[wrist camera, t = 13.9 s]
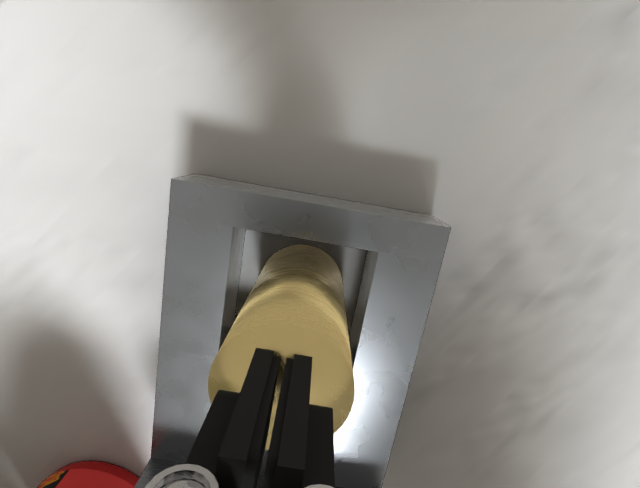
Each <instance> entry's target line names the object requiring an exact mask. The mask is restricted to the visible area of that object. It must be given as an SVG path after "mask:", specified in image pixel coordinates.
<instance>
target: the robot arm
mask: <svg viewBox="0 0 640 488" xmlns="http://www.w3.org/2000/svg"><path fill="white" fill-rule="evenodd" d="M280 358H281V357H279V356H274V350H268V349H262V348H256V349H255V352H254V355H253V358H252V361H251V363H250V366H249V369H248V372H247V375H246V377H245V380H244V383H243V386H242V389H241V392H240V393H238V392H232V391H225V390H218V392H217V394H216V396H215V398H214V400H213V402H212V404H211V407H210V409H209V411H208V413H207V416H206V418H205V420H204V422H203V424H202V427H201V429H200V431H199V433H198V436H197V438H196V440H195V442H194V444H193V447H192V449H191V451H190V453H189V456H188V458H187V460H186V462H185V464H181V465H175V466H173V467H170V468H167V469H165V470H163V471H162V472H160V473H159V474H157V475H155V477H154V478H153V479H152V480H151V481H150V482H149V483H148V484H147V485H146V487H145V488H257V486H258V481H259V477H260V472H261V467H262V462H263V457H264V452H265V447H266V442H267V437H268V431H269V425H270V419H271V413H272V407H273V401H274V395H275V389H276V382H277V376H278V370H279V364H280ZM311 372H312V357H310V356H304V355H298V354H294V359H291V358H286V363H285V368H284V373H283V378H282V384H281V389H280V394H279V399H278V404H277V410H276V415H275V420H274V425H273V430H272V436H271V441H270V446H269V451H268V457H267V462H266V468H265V473H264V479H263V485H262V488H335V473H334V431H333V409H332V408H331V407H325V406H318V405H312V404H309V402H310V387H311Z"/></svg>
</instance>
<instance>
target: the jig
mask: <svg viewBox="0 0 640 488" xmlns="http://www.w3.org/2000/svg"><path fill="white" fill-rule="evenodd" d="M246 229H248V230H254V231H260V232H265V233H271V234H277V235H283V236H289V237H294V238H300V239H306V240H312V241H317V242H323V243H329V244H335V245H341V246H346V247H352V248H358V249H364V250H368V253H367V257H366V262H365V267H364V271H363V276H362V281H361V285H360V290H359V295H358V299H357V304H356V309H355V313H354V318H353V323H352V327H351V332H350V337H349V342H350V351H351V359H352V368H353V376H354V385H355V395H354V402H353V405H352V408H351V411H350V413H349V415H348V418H347V419H346V421H345V422H344V424H343V425H342V426H341V427H340V428H339V430H338V431H337V432H336V433H334V473H335V488H381V487H382V484H383V480H384V476H385V472H386V469H387V465H388V461H389V458H390V454H391V450H392V446H393V443H394V439H395V435H396V431H397V428H398V424H399V420H400V417H401V413H402V409H403V405H404V402H405V398H406V394H407V390H408V387H409V383H410V379H411V376H412V372H413V368H414V364H415V361H416V357H417V353H418V349H419V346H420V342H421V338H422V335H423V331H424V327H425V323H426V320H427V316H428V312H429V308H430V305H431V301H432V297H433V294H434V290H435V286H436V282H437V279H438V275H439V271H440V267H441V264H442V260H443V256H444V253H445V249H446V245H447V241H448V238H449V234H450V230H451V227H449V226H448V225H446V224H445V223H443V222H441V221H440V220H438V219H437V218H435V217H434V216H432V215H427V214H421V213H415V212H410V211H404V210H398V209H393V208H387V207H381V206H375V205H370V204H364V203H358V202H353V201H347V200H341V199H336V198H330V197H324V196H319V195H313V194H307V193H302V192H296V191H290V190H285V189H279V188H273V187H268V186H262V185H256V184H251V183H245V182H239V181H234V180H228V179H222V178H217V177H211V176H205V175H200V174H192V175H187V176H182V177H177V178H171V188H170V202H169V216H168V230H167V244H166V257H165V271H164V285H163V299H162V312H161V326H160V340H159V354H158V368H157V381H156V395H155V409H154V423H153V436H152V450H151V459H150V460H149V462H148V464H147V466H146V467H145V469H144V471H143V473H142V474H141V476H140V478H139V480H138V481H137V483H136V485H135V487H134V488H145V487H146V485H147V484H148V483H149V482H150V481H151V480H152V479H153V478H154V477H155V475H157V474H159V473H160V472H162V471H163V470H165V469H167V468H170V467H173V466H175V465H181V464H185V462H186V460H187V458H188V456H189V453H190V451H191V449H192V447H193V444H194V442H195V440H196V438H197V436H198V433H199V431H200V429H201V427H202V424H203V422H204V420H205V418H206V416H207V413H208V411H209V409H210V407H211V402H210V398H209V392H208V378H209V372H210V369H211V366H212V363H213V361H214V359H215V357H216V355H217V353H218V352H219V350H220V348H221V346H222V344H223V342H224V340H225V338H226V337H227V335H228V333H229V331H230V329H231V327H232V325H233V323H234V318H235V310H236V302H237V294H238V286H239V278H240V270H241V263H242V255H243V247H244V239H245V231H246ZM268 451H269V450H266V449H265V452H264V457H263V462H262V467H261V472H260V477H259V481H258V486H257V488H262V485H263V479H264V473H265V468H266V462H267V457H268Z"/></svg>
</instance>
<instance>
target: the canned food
mask: <svg viewBox="0 0 640 488" xmlns="http://www.w3.org/2000/svg"><path fill="white" fill-rule="evenodd" d="M138 480H139V477H137V476H136V475H134V474H133V473H131V472H130V471H128V470H126V469H123V468H121V467H119V466H116V465H113V464H109V463H105V462H97V461H82V462H77V463H72V464H70V465H67V466H65V467H62V468H61V469H60V470H58V471H57V472H55V473H54V474H52V475H51V476H50V477H48V478H47V479H45V480H44V481H42V482H41V484H40V485H39V486H38V487H37V488H134V487H135V485H136V483H137V481H138Z"/></svg>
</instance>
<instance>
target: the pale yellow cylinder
mask: <svg viewBox="0 0 640 488" xmlns="http://www.w3.org/2000/svg"><path fill="white" fill-rule="evenodd" d="M256 348H262V349H268V350H274V356H279V357H281V358H280V364H279V370H278V376H277V382H276V389H275V395H274V401H273V407H272V413H271V419H270V425H269V431H268V437H267V442H266V447H265V449H266V450H269V446H270V441H271V436H272V430H273V425H274V420H275V415H276V410H277V404H278V399H279V394H280V389H281V384H282V378H283V373H284V368H285V363H286V358H291V359H294V354H298V355H304V356H310V357H312V372H311V387H310V402H309V404H312V405H318V406H325V407H331V408H332V409H333V431H334V433H336V432H337V431H338V430H339V428H340V427H341V426H342V425H343V424H344V422H345V421H346V419H347V418H348V415H349V413H350V411H351V408H352V405H353V402H354V395H355V385H354V376H353V368H352V359H351V351H350V342H349V334H348V325H347V316H346V308H345V299H344V291H343V282H342V276H341V272H340V270H339V267H338V266H337V264H336V262H335V261H334V260H333V259H332V258H331V257H330V256H329V255H328V254H327V253H326V252H324V251H323V250H321V249H319V248H316V247H314V246H310V245H291V246H288V247H285V248H282V249H280V250H279V251H277V252H276V253H274V254H273V255H272V256H271V257H270V258H269V259H268V261H267V262H266V263H265V265H264V267H263V269H262V271H261V273H260V275H259V277H258V278H257V280H256V282H255V284H254V286H253V288H252V290H251V292H250V293H249V295H248V297H247V299H246V301H245V303H244V305H243V307H242V308H241V310H240V312H239V314H238V316H237V318H236V320H235V322H234V323H233V325H232V327H231V329H230V331H229V333H228V335H227V337H226V338H225V340H224V342H223V344H222V346H221V348H220V350H219V352H218V353H217V355H216V357H215V359H214V361H213V363H212V366H211V369H210V372H209V378H208V392H209V398H210V402H211V404H212V402H213V400H214V398H215V396H216V394H217V392H218V390H225V391H232V392H238V393H240V392H241V389H242V386H243V383H244V380H245V377H246V375H247V372H248V369H249V366H250V363H251V361H252V358H253V355H254V352H255V349H256Z"/></svg>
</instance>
